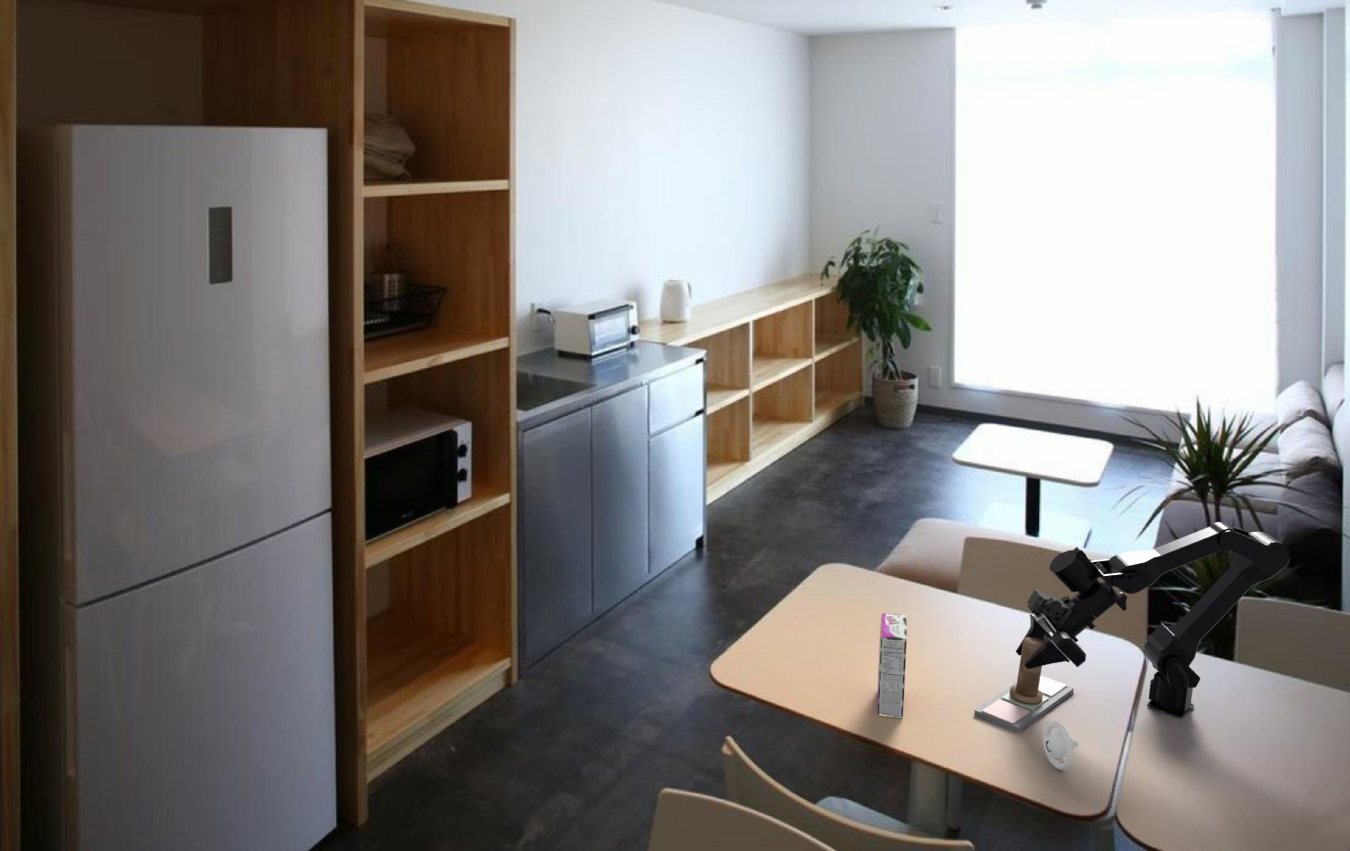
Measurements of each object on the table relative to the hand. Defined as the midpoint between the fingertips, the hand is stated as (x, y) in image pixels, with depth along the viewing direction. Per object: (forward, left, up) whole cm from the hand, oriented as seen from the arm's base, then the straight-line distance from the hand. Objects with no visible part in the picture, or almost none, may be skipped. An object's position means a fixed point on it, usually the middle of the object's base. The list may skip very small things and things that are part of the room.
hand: (1021, 660), depth 200 cm
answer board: (-1, -1, -9) cm, 9 cm away
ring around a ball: (-16, +15, -9) cm, 24 cm away
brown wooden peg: (-1, -1, -8) cm, 8 cm away
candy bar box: (+17, +18, -9) cm, 26 cm away
